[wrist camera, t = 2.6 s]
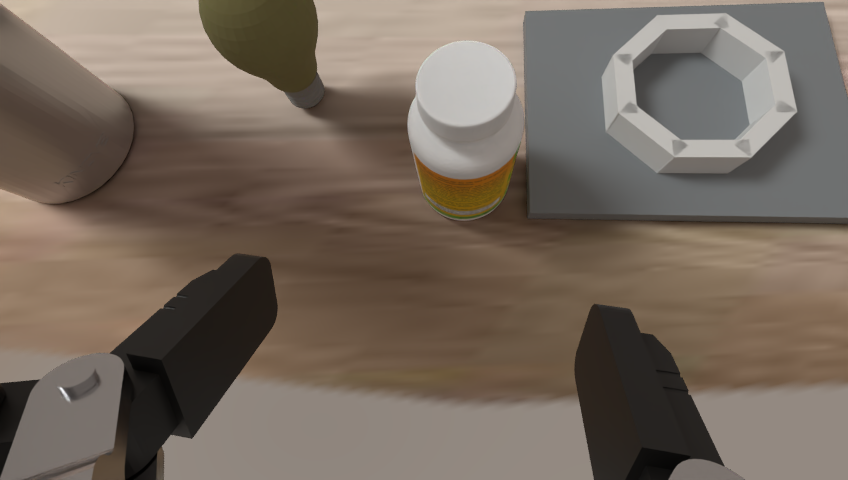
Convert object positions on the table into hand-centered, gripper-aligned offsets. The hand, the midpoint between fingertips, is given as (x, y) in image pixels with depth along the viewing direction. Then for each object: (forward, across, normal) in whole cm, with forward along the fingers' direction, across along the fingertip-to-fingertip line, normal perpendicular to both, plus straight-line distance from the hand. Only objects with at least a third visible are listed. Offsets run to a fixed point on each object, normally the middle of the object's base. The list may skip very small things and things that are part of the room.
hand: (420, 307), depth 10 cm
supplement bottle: (+16, 0, +3) cm, 16 cm away
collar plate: (+20, -12, -1) cm, 24 cm away
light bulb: (+19, +11, 0) cm, 22 cm away
